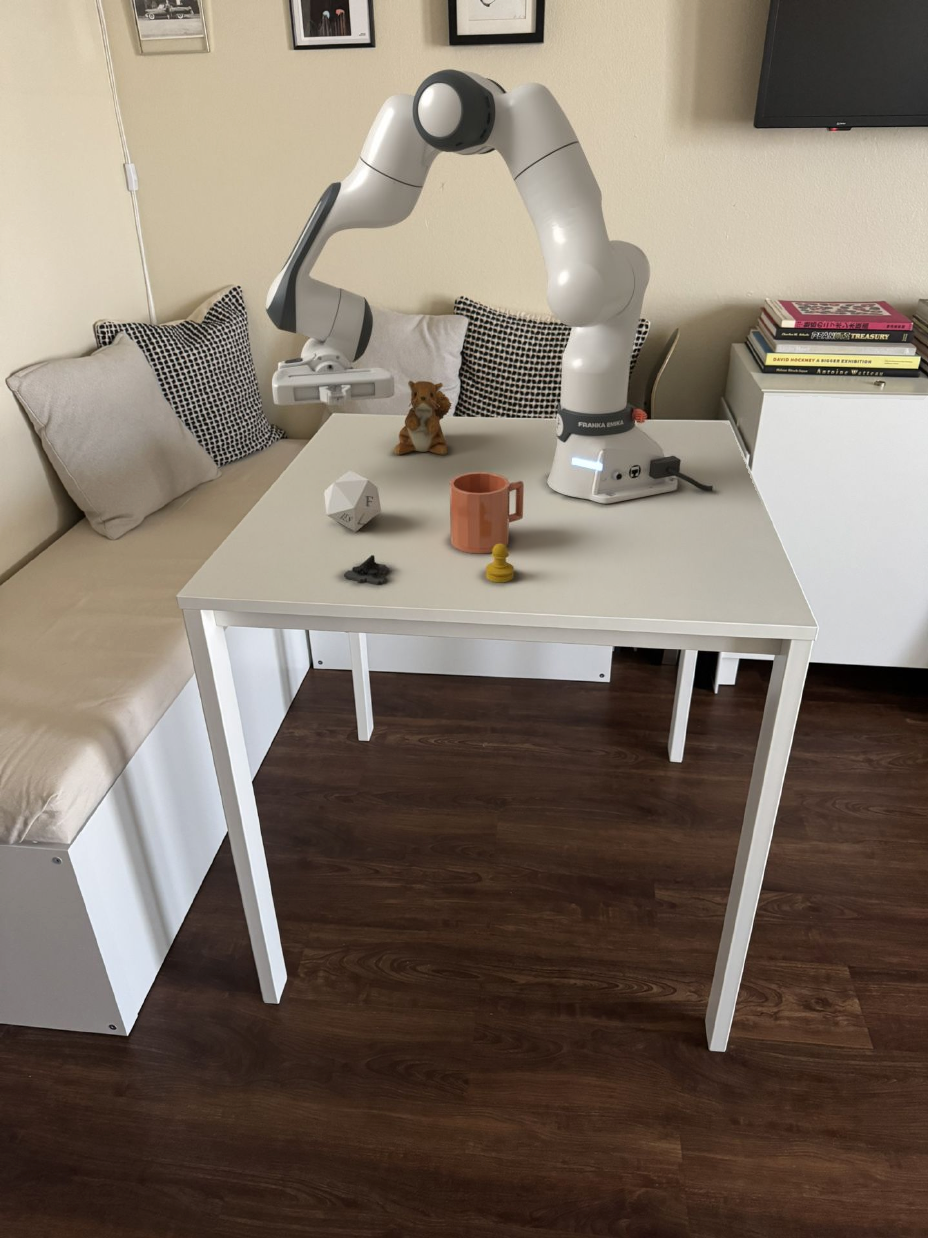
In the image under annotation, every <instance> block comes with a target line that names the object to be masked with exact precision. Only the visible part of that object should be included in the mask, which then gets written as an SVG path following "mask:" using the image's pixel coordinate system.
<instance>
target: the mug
mask: <svg viewBox="0 0 928 1238" xmlns="http://www.w3.org/2000/svg"><path fill="white" fill-rule="evenodd" d="M524 483H525V482H524V481H522V480H515V481H512V482H510V481H509V479H508V478H507V477H505V476H503V475H501V474H498V473H492V472H486V471H485V472H483V471H477V472H467V473H464V474H463V473H462V474H459V475H457V476H455V477H453V478H451V480H450V482H449V527H450V529H449V531H450V542H451V545H452V546H453V548H455V549H456V550H458V551H461V552H463V553H464V552H465V553H469V554H479V555H480V554H490V553H491V554H492V550H493V547H494V546H495V545H496V544H504V545H505V546H506V547H507V546H508V544H509V538H510V523H514V522H518V521H520V520H522V519H523V517H524V491H525V490H524V489H525V488H524V487H525V484H524ZM512 491H515V504H514V505H515V506H514V507H515V509H514V511H515V512H513V513H510V501H511V500H510V498H511V497H510V496H511V494H510V493H511V492H512Z"/></svg>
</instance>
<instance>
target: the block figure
mask: <svg viewBox="0 0 928 1238" xmlns="http://www.w3.org/2000/svg"><path fill="white" fill-rule="evenodd" d="M389 569H390V568H388V566H387V565H386V564H383V563H377V562H376V559H375V555H374V554H371V555H370V556H369V557H368V558H367V559H366V560H364V561H363V562H362V563H361V564H360V565H358V566H353V567H352V568H351V570H347V571H345V572H344V574H343V577H344V578H345V579H346V580H350V581H356V583H358V584H361V583H365V582H366V583H367V584H372V585H376V586H377V585H380V584H381V585H383V583H385V582H386V581H387V577H386V574H387V573H389V572H390V571H389Z"/></svg>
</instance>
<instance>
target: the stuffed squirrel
mask: <svg viewBox="0 0 928 1238" xmlns="http://www.w3.org/2000/svg"><path fill="white" fill-rule="evenodd" d="M407 385H408V388H409V390H410V393H411V394H410V397H411V398H410V403H409V405H408V407H409V408H410V407H411V406H412V407H411V408H410V409H409V410H408V414H407V415H406V417H405V419H404V426H403V427H402V428H401V429H400V431H399V432H398V440H399V443H398V444H396V446H394V451H393V452H394V454H395V455H404V454H408V453H410V452H413V451H415V452H420V453H423V452H425V453H426V452H430V453H434V454H437V455H441V456H444V455H446V454H447V452H448V446H447V441H446V439H445V437H444V432H443V429H442V426H441V422H440V420H442V419H444V416H447V414H448V413H449V412H450V410H452V402H451V401H450V399H449V398H448V396H446V394H445V393H443V391H442V390H441V389H442V388H443V387H444V385H443V383H442V382H439V383H436V384H435V383H433V382H431V381H427V380H426V381H424V380H419V381H416V382H414V381H412V380H409V381H408V382H407Z"/></svg>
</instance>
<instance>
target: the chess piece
mask: <svg viewBox="0 0 928 1238" xmlns="http://www.w3.org/2000/svg"><path fill="white" fill-rule="evenodd" d="M508 552H509V551H508V547H507V545H506V546H505V545H504V544H496V545H495V546H494V547H493V550H492V552H491V557H492V558H493V561H492V562H490V563H488V564H487V565H486V567H485V578H486V579H487V580H488V581H490V582H493V583H507V582H511V581H512V580H513V579H514V569H515V568H514V565H513V564H511V563H509V562H508V561H507V558H508V557H509V556H510V555H509V553H508Z"/></svg>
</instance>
